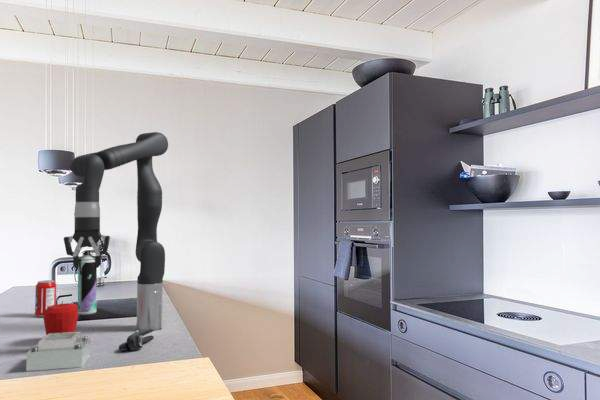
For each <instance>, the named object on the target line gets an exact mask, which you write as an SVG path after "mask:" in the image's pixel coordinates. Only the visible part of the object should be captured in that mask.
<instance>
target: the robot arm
mask: <svg viewBox="0 0 600 400" xmlns="http://www.w3.org/2000/svg"><path fill="white" fill-rule="evenodd" d="M168 148H169V141H168V137H166V136H165V134H163V133H161V132H158V131H153V132H145V133H140V134H139V135H137V137H136V138H135V142H132V143H131V142H129V143H126V144H119V145H115V146H112V147H108V148H105V149H102V150H100V151H97V152H92V153H85V154H82V155H78V156H75V158H73V159H72V160H71V163H70V171H71V172H72V174H73V175H74V176H76V177H79V178H83V180H82V182H81V183H80V184H78V185H76V187H75V205H74V213H73V215H74V233H73V234H72V235H70V236H65V237H63V242H64V247H65V253H66V255H67V256H71V257H72V258H73V259H72V260H73V261H72V264H73V265H72V266H73V267H74V268H75V269H77V270H78V261H79V260H78V259H79V258H80V256H79V254H80V252H81V250H82V249H83V248H86V247H88V248H92V250H93V251H94V254H95V258H96V268H99V267H100V266H102V255H105V254H107V253H108V249H109V245H110V241H111V236H110V235H103V234H102V233H101V207H100V188H101V185H102V182H103V177H104V174H105V171H108V170H112V169H116V168H119V167H121V166H124V165H126V164H128V163H132V162H134V161H136V171H137V192H136V194H137V195H136V204H137V210H136V211H137V216H136V217H137V236H136V243H135V244H136V245H135V257H136V260H138V262H139V263H140V264H139V265H140V266H139V267H140V268H139V273H138V276H137V280H136V283H137V285H136V286H137V287H136V331H137V330H139V331H140V330H144V329H153V331H157V330H162V329H163V313H164V312H163V309H164V305H163V302H164V301H163V287H164V285H163V284H164V283H163V281H164V280H163V279H164V276H165V271H166V269H165V267H166V264H165V263H166V251H165V247H164V246H163V244H162V243H160V242H158V236H157V235H158V232H157V231H158V230H157V229H158V223H159V219H160V216H161V213H162V209H163V208H162V207H163V189H162V186H161V184H160V182H159V180H158V178H157V176H156V174H155V171H154V169H153V157H160V156H162V155H164V154H165V153H166V152H167V151H168ZM73 240H74V241H75V243H76V247H75V248H74V251H73V249H72V243H73ZM100 240H101V241H102V242H103V246H102V250H101V249H100V247H99V245H98V243H99V241H100Z"/></svg>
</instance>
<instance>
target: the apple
mask: <svg viewBox="0 0 600 400" xmlns="http://www.w3.org/2000/svg"><path fill="white" fill-rule="evenodd" d="M79 315H80V314H78V305H77V304H76V303H74V302H73V303H70V302H68V303H64V302H63V301H62V302H61V303H56V305H52V306H49V307H48V308H47V309H46V310H45V312H44V317H43V323H44V329H45V336H46V335H47V334H50V333H67V332H77V331H76V330H77V324H78V320H79V319H78V318H79Z"/></svg>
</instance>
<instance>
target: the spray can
mask: <svg viewBox="0 0 600 400" xmlns="http://www.w3.org/2000/svg"><path fill="white" fill-rule="evenodd" d="M78 260H79V261H78V269H77V307H78V314H79V315H92V314H96V313H97V300H98V299H97V292H98V291H97V290H98V289H97V288H98V287H97V280H98V279H97V276H98V275H97V272H98V271H97V268H96V256H94V255H93V254H92V253H91V250H85V251H84V253H83V254H82V256H80V257H79V259H78Z"/></svg>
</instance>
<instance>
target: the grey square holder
mask: <svg viewBox="0 0 600 400" xmlns="http://www.w3.org/2000/svg"><path fill="white" fill-rule="evenodd" d="M91 349H92V338H91V337H88V336H86V335H85V336H84V335H83V336H82V331H76V332H67V333H50V334H47V335H46V334H45V336H44V337H42V338H41V339H40V340H38V343H37V344H35V345H34V346H33V347H31V348H30V349H29V350H28V351H27V352H26V365H25V366H26V369H25V371H26V372H34V371H46V370H47V371H48V370H62V369H74V368H82V367H83V366H84V364H86V362H87V360H88V359H89V358H90V356H91V355H92V354H91V353H92V350H91Z"/></svg>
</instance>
